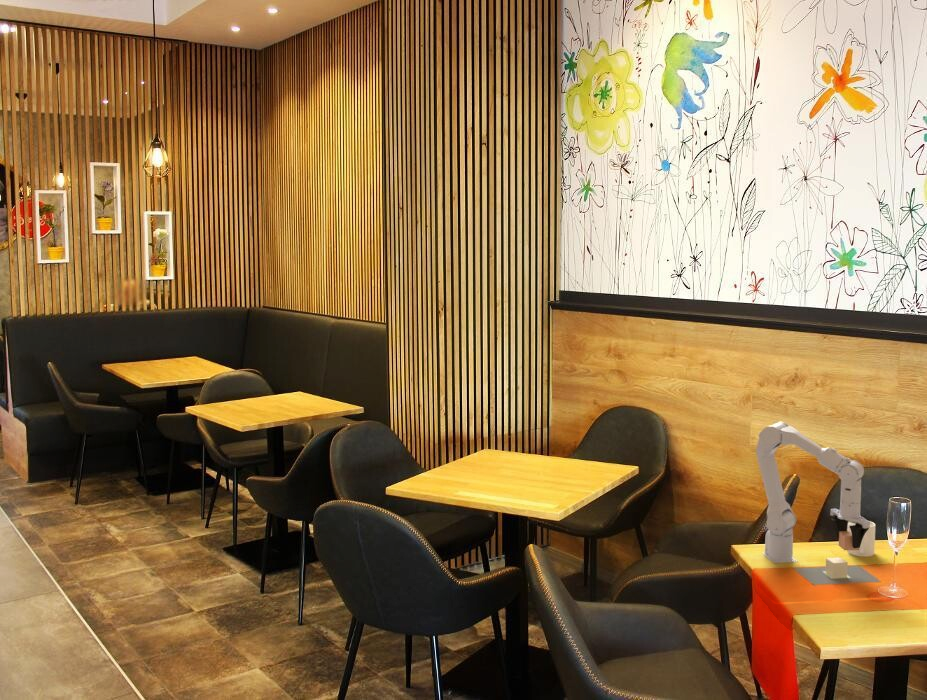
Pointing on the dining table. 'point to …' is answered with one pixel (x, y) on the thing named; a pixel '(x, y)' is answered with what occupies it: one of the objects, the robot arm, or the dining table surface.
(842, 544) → the terracotta block
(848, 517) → the robot arm
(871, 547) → the mug
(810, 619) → the dining table surface
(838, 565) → the cream block
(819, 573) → the mat
